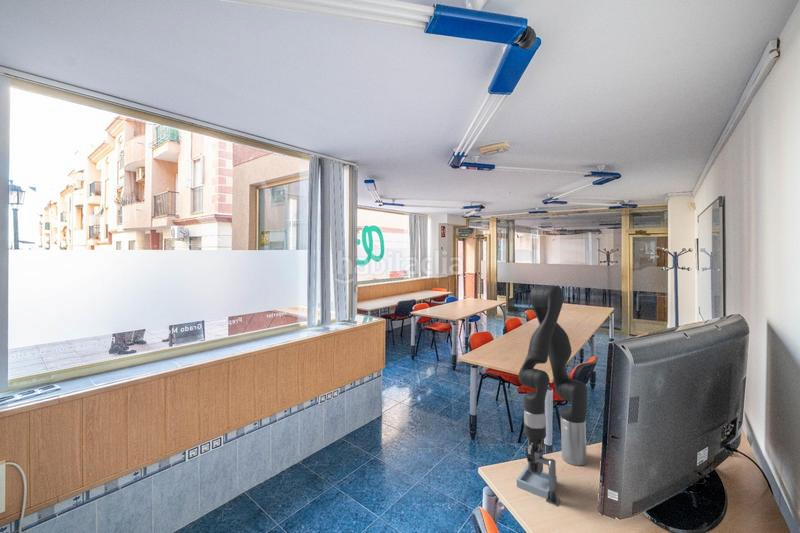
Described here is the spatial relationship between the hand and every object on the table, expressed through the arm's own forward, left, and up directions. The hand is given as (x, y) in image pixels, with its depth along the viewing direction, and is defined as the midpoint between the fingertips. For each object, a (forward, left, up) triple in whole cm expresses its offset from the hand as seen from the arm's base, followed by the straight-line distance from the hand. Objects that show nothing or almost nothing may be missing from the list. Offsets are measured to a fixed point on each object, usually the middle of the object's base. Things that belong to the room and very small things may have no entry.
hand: (535, 468), depth 122 cm
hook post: (+5, +5, -6) cm, 10 cm away
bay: (0, 0, -6) cm, 6 cm away
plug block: (0, 0, -1) cm, 1 cm away
